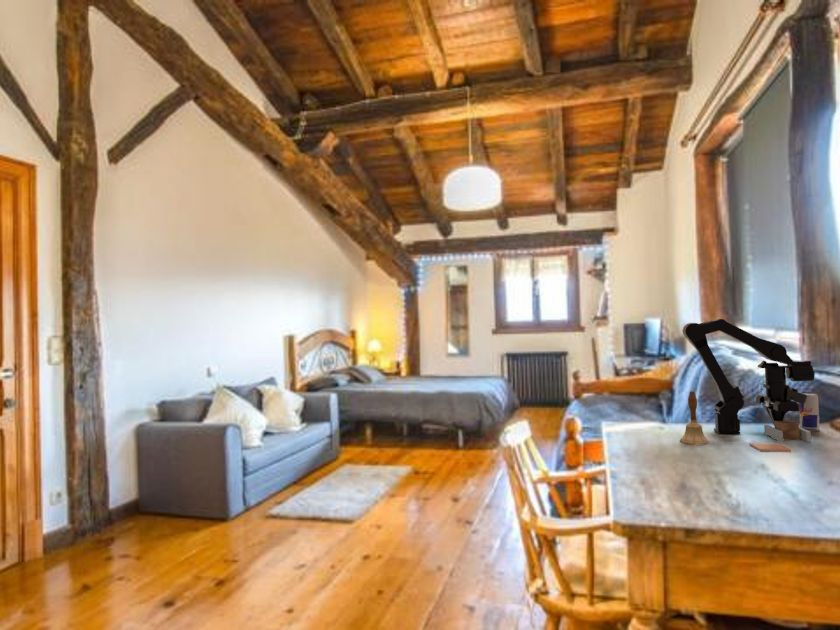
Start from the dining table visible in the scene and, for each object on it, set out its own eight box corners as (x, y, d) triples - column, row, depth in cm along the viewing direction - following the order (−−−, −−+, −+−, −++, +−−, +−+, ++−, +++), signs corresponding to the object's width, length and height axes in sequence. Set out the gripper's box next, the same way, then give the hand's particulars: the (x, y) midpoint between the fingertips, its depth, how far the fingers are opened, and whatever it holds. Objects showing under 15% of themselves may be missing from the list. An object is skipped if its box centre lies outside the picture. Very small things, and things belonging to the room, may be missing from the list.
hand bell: (714, 444, 168) (711, 392, 169) (687, 445, 169) (684, 393, 169) (701, 438, 177) (698, 389, 177) (675, 439, 177) (673, 390, 177)
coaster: (760, 451, 158) (759, 449, 158) (749, 444, 166) (749, 443, 166) (791, 451, 156) (790, 449, 156) (779, 445, 164) (778, 443, 164)
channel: (778, 441, 169) (778, 431, 169) (764, 434, 180) (764, 424, 180) (811, 441, 167) (810, 431, 167) (794, 434, 178) (794, 424, 178)
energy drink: (796, 429, 185) (794, 394, 185) (806, 427, 187) (804, 392, 187) (813, 432, 180) (811, 395, 180) (823, 430, 182) (821, 394, 182)
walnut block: (781, 439, 171) (780, 423, 171) (775, 436, 176) (774, 420, 176) (799, 439, 170) (798, 423, 170) (792, 436, 175) (791, 420, 175)
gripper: (817, 384, 169) (819, 434, 169) (790, 378, 187) (792, 423, 187) (777, 385, 172) (779, 434, 171) (754, 378, 190) (756, 423, 190)
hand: (777, 428), depth 180 cm, fingers closed
